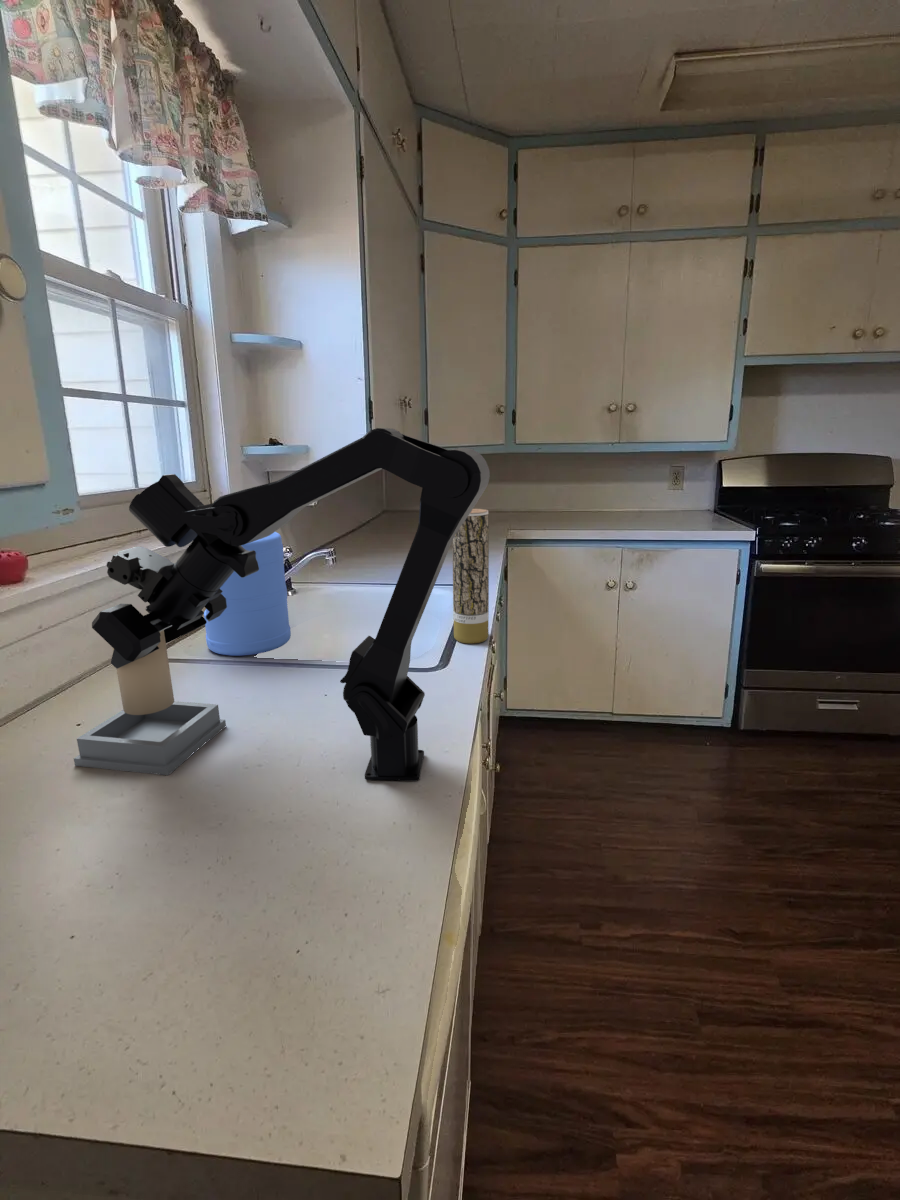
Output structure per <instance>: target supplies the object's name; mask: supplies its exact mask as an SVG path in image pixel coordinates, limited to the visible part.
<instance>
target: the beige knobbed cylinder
mask: <svg viewBox="0 0 900 1200" xmlns="http://www.w3.org/2000/svg"><path fill="white" fill-rule="evenodd" d="M160 635H161V636H160V640H161V642H160V643H159V644H158V645H157V646H158V647H159V649H158V650H156V651H154V652H152V653H150V654H148V655H147V656H145V657H142V658H140V659H137V660H135V661H133V662H131V663H128V664H126V665H124V666H122V667H120V668H115V670H116V675H117V681H118V685H119V692H120V699H121V705H122V708H123V709H122V710H124V712H125V713H127V714H131V715H145V714H151V713H155V712H159V711H161V710H164V709H166V708H168V707H170V706H171V705H172V704H173V703H174V701H175V698H174V695H175V694H174V689H173V682H172V675H171V669H170V662H169V656H168V648H167V643H166V641H165V635H164V630H163V631H160ZM113 651H114V648H113V647H112V652H113Z"/></svg>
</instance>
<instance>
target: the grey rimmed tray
mask: <svg viewBox="0 0 900 1200" xmlns="http://www.w3.org/2000/svg"><path fill="white" fill-rule="evenodd" d="M225 726H226V727H227V723H226V719H222V718H221V717H220V709H219V704H217V703H215V704H214V703H203V702H189V701H179V700H174V703H173V704H172V705H171V706H170V707H168V708H166V709H164V710H161V711H159V712H155V713H151V714H145V715H131V714H127V713H125V712H124V710H123V709H122V710H121V711H119V712H117V713H115V714H114V715H113V716H111V717H109V718H108V719H106V720H104V721H103V722H101V723H99V724H98V725H96V726H94V727H93V728H92V729H90V730H88V731H86V732H85V733H84V734H82V735H80V736H78V737H77V738H76V742H77V747H78V753H79V754H78V755H77V756H75V757H74V758H73V763H74V766H75V767H82V768H83V767H84V768H94V769H101V770H102V769H105V770H113V771H125V772H133V773H141V774H143V773H144V774H151V775H152V774H153V775H162V776H170V774H172V773H173V772H174V771H176V769H177V768H179V767H180V766H181V765H182V764H183V763H184V761H185V760H186V759H187V758H188V757H189V756H190V755H191V754H192V753H193V752H195V751H196V750H197V749H198V748H200V747H201V746H202V745H203V744H204V743H205V742H207V741H208V740H209V739H210V740H212V739H213V738H214V737H215V736H216V735H218V734H217V733H218V732H219V731H220V730H221V729H222V730H224V729H225V728H226V727H225ZM224 727H225V728H224ZM222 730H221V731H222ZM221 731H220V732H221ZM220 732H219V733H220ZM214 735H215V736H214ZM213 736H214V737H213ZM212 737H213V738H212ZM211 738H212V739H211ZM210 740H209V741H210ZM209 741H208V742H209ZM208 742H207V743H208ZM203 746H204V745H203ZM203 746H202V747H203ZM202 747H201V748H202ZM201 748H200V749H201ZM196 752H197V751H196ZM196 752H195V753H196ZM190 757H191V756H190ZM190 757H189V758H190ZM189 758H188V759H189ZM188 759H187V760H188ZM187 760H186V761H187ZM186 761H185V762H186ZM178 766H179V767H178Z"/></svg>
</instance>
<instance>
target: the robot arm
mask: <svg viewBox="0 0 900 1200" xmlns="http://www.w3.org/2000/svg"><path fill="white" fill-rule="evenodd" d="M382 470H385V471H387V472H389V473H391V474H393V475H394V476H396V477H399V479H402V480H404V481H406V482H408V483H410V484H412V485H415V486H417V487H419V488H421V493H420V498H419V499H420V500H419V508H418V509H419V510H418V512H419V514H418V526H417V529H416V532H415V535H414V537H413V539H412V543H411V546H410V548H409V550H408V553H407V555H406V558H405V561H404V563H403V566H402V568H401V571H400V574H399V575H398V579H397V581H396V585H395V587H394V589H393V592H392V595H391V597H390V600H389V603H388V605H387V607H386V610H385V613H384V615H383V618H382V620H381V622H380V626H379V629H378V631H377V634H376V636H375V638H374V637H372V636H371V635H367V636H366V638H365V639H364V640H362V641H361V642H360V643H359V644H358V645H357V647H356V648H354V649H353V650H352V651H351V653H350V658H349V663H348V667H347V668H348V669H347V671H346V673H345V675H344V676H343V677H342V678H341V679H340V681H339V682H340V684H345V685H343V691H342V697H343V701H345V703H346V705H347V707H348V708H349V710H351V712H352V713H353V714H354V715H355V718H356V720H357V722H358V724H359V727H360V729H361V732H362V733H363V736H366V737H367V736H369V738H370V739H369V741H370V755H371V756H370V758H369V761H368V763H367V766H366V769H365V772H364V779H365V780H368V781H369V780H371V781H419V780H420V778H421V772H422V769H423V768H422V767H423V763H424V758H425V750H423V749H419V735H418V733H419V729H418V728H419V727H418V717H417V715H416V714H417V712H418V710H419V709H420V708H421V706H422V704H423V701H424V698H425V696H426V695H425V694H426V693H425V691H424V690H422V688H420V687H419V685H418V684H417V683H415V682H414V681H413V679H411V678H410V677H409V676H408V674H409V669H410V663H411V648H412V641H413V639H414V636H415V634H416V631H417V629H418V626H419V625H420V621H421V619H422V616H423V614H424V612H425V609H426V607H427V604H428V602H429V600H430V597H431V595H432V593H433V589H434V587H435V584H436V583H437V580H438V577H439V576H440V573H441V570H442V567H443V565H444V562H445V560H446V557H447V555H448V553H449V550H450V547H451V546H452V541H453V538H454V536H455V534H456V533H457V531H458V530H459V528H460V527H461V526H462V524H463V523H464V521H465V520H466V518H467V517H468V515H469V514H470V512H471V511H472V509H475V507H476V504H478V501H479V499H481V497H482V495H483V494H484V492H485V490H486V489H487V487H488V485H489V481H490V478H491V477H490V475H491V474H490V473H491V472H490V468H489V465H488V462H487V461H486V459H485V458H484V456H482V454H481V453H479V452H478V451H476V450H474V448H473V449H472V448H468V447H458V448H452V449H447V448H444V447H443V446H439V445H436V444H433V443H431V442H427V441H425V440H421V439H418V438H415V437H411V436H410V435H407V434H404V433H401V432H400V431H399V430H397V429H395V428H391V427H390V428H388V427H376V428H373V429H370V430H369V431H368V432H367V433H366V434H364V435H363V436H362V437H360V438H359V439H358V438H357V439H356V440H354V441H352V442H351V443H348V444H347V445H345V446H343V447H340V448H338V449H337V450H335V451H333V452H331V453H329V454H327V455H324V456H322V457H321V458H319V459H317V460H315V461H313V462H311V463H310V464H307V465H305V466H304V467H302V468H300V469H298V470H296V471H294V472H292V473H290V474H289V475H285V476H284V477H282V478H280V479H278V480H276V481H272V482H267V483H264V484H261V485H257V486H252V487H250V488H249V487H248V488H246V489H243V490H238V491H235V492H231V493H227V494H224V495H221V496H219V497H218V498H217V499H215V500H214V502H212V503H208V504H204V503H203V502H202V501H200V499H199V498H198V497H197V495H195V494H194V493H193V492H192V491H191V490H189V488H188V487H187V486H186V485H185V483H184V481H182V479H181V478H180V477H178V476H177V475H176V474H175V473H170V474H163V475H162V476H161V477H160V478H159V480H158V481H156V482H154V483H151V484H150V485H149V486H148V487H146V488H145V489H144V490H142V491H141V492H140V493H138V494H136V495H135V496H134V497H133V499H132V500H131V502H130V504H129V506H128V511H129V512H130V514H131V515H132V516H133V517H134V518H136V520H138V522H140V523H141V524H142V526H144V527H145V529H147V530H148V531H149V532H150V533H151V534H152V535H153V536H154V537H155V538H156V540H158V541H159V542H161V544H163V546H165V547H173V546H175V545H176V546H177V547H178V548H183V547H186V546H187V545H188V546H187V547H186V549H185V550H184V551H183V553H182V554H181V555H180V557H179V558H178V559H177V560H176V562H175V563H174V562H173V561H171V559H169V558H167V557H165V556H163V555H162V554H160V553H157V552H156V551H153V550H151V549H149V548H148V547H144V546H134V547H130V548H127V549H126V548H125V549H123V550H120V551H117V553H116V554H113V555H112V558H111V560H110V561H107V562H106V567H107V571H106V574H107V575H108V577H109V578H110V579H112V580H114V581H116V582H118V583H120V584H122V585H124V586H125V585H129V586H131V587H134V588H136V589H138V590H140V591H139V593H138V594H137V597H138V598H140V600H141V601H142V602H144V603H148V604H149V605H146V606H145V607H144V610H145V611H146V612H147V613H146V614H144V615H143V614H142V613H141V612H140V611H139V610H138V609H137V608H136V607H135V606H134V605H133V604H132V603H119V604H116V605H114V606H112V607H109V608H107V609H104V610H101V611H99V613H98V614H97V616H95V618H94V619H93V620H92V622H91V629H93V630H94V632H96V634H98V635H99V636H100V637H101V638H102V639H103V640H104V641H105V642H106V643H107V644H109V645H110V647H112V649H113V648H114V651H113V650H112V656H111V659H110V660H111V661H110V663H111V665H112V666H113V667H114V668H115V669H116V668H120V667H122V666H124V665H126V664H128V663H131V662H133V661H135V660H137V659H140V658H142V657H145V656H147V655H148V654H150V653H152V652H154V651H156V650H158V649H159V647H158V646H157V645H158V644H159V643H160V642H161V640H160V636H161V635H160V631H163V630H164V635H165V641H166V644H168V643H170V642H173V641H174V640H177V639H178V638H181V637H183V636H185V635H187V634H189V633H191V632H193V631H195V630H197V629H199V628H201V627H203V626H205V624H206V623H207V622H206V620H205V618H204V612H205V611H203V609H204V608H205V610H206V609H207V610H208V611H209V613H208V614H207V616H206V619H207V620H208V621H211V620H213V619H215V618H217V617H219V616H220V615H221V614H222V612H223V611H224V610H225V609H226V608H227V604H226V598H225V597H224V596H223V595H222V594H221V593H222V592H223V591H222V590H221V589H220V587H221V586H222V585H223V584H224V583H225V582H226V580H227V579H228V578H229V577H230V576H231V574H232V573H233V572H234V571H235V572H236V573H237V574H238V575H239V576H240V577H242V578H243V577H246V576H248V575H250V574H252V573H255V572H257V571H258V570H259V566H258V562H257V560H256V552H255V551H254V550H253V551H248V550H246V549H244V548H243V547H242V546H241V545H244V544H247V543H250V542H253V541H256V540H259V539H262V538H264V537H267V536H269V535H271V534H273V533H274V532H277V531H278V530H279V529H281V528H282V527H284V526H285V525H286V524H287V523H289V522H290V521H291V520H292V519H293V518H294V517H295V516H296V515H297V514H298V513H299V512H300V511H302V510H304V508H306V507H307V506H309V505H312V504H313V503H316V502H318V501H321V499H324V498H326V497H327V496H330V495H332V494H335V493H337V492H338V491H340V490H342V489H344V488H347V487H348V486H351V485H352V484H354V483H357V482H359V481H361V480H363V479H365V478H367V477H369V476H371V475H373V474H375V473H377V472H379V471H382Z"/></svg>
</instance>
